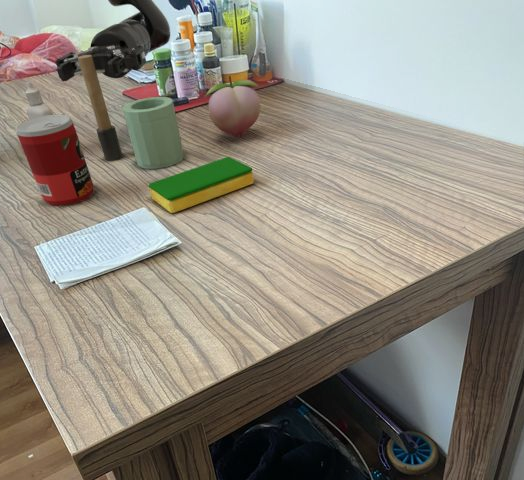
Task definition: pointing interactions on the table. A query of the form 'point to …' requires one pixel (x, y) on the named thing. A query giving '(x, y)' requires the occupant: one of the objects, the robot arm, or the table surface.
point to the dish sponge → (201, 184)
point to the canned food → (56, 159)
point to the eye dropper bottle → (36, 103)
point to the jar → (154, 132)
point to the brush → (100, 110)
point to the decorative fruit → (234, 106)
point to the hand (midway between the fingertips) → (86, 72)
